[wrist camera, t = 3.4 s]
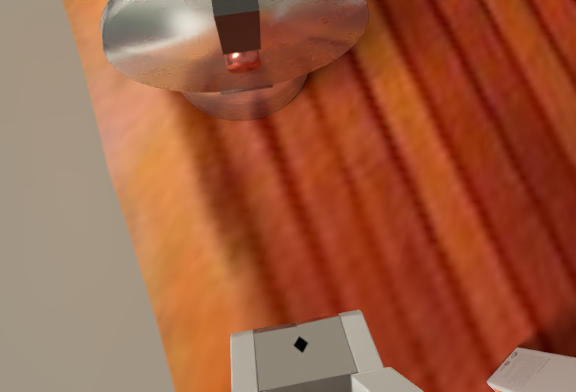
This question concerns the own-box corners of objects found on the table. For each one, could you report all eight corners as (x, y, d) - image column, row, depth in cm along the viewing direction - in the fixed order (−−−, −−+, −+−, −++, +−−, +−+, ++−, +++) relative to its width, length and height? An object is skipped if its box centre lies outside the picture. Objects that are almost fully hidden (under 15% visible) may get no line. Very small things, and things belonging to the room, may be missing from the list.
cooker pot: (323, -14, 46) (333, -90, 37) (350, 105, 42) (368, 52, 34) (137, 10, 45) (102, -62, 36) (149, 135, 41) (114, 88, 32)
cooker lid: (400, -78, 18) (411, -23, 18) (339, 64, 34) (345, 95, 34) (41, -33, 17) (48, 25, 17) (147, 92, 33) (152, 124, 33)
